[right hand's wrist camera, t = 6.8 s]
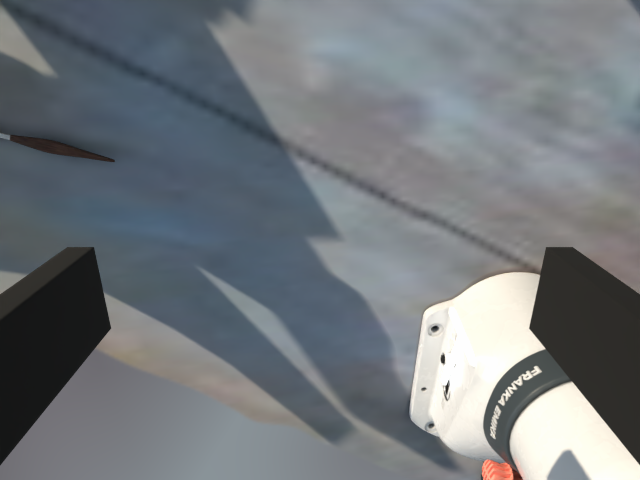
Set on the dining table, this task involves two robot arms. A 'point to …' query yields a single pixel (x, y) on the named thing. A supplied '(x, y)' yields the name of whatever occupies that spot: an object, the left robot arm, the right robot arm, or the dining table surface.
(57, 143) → the fork
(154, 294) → the dining table surface
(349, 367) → the dining table surface
